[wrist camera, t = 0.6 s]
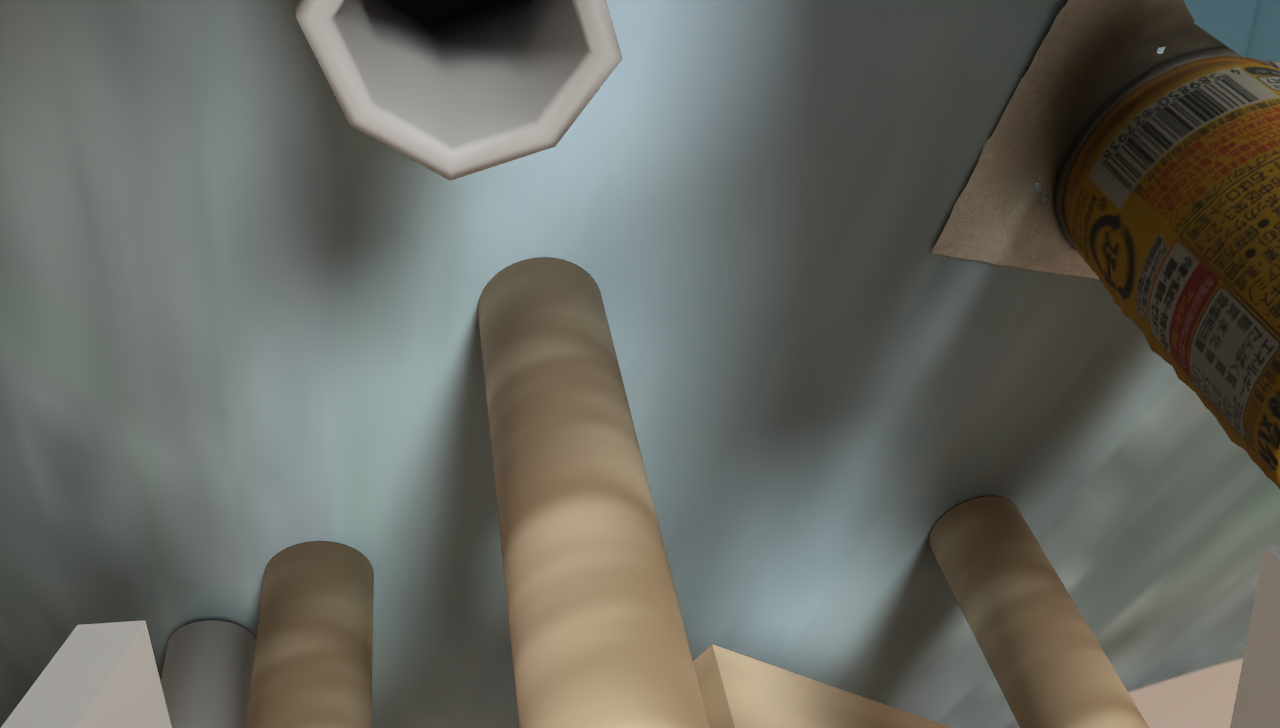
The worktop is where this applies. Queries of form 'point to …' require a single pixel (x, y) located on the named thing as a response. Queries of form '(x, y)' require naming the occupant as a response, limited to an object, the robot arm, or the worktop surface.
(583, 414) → the stool
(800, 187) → the worktop surface
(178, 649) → the pale green flat panel
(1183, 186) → the condiment
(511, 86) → the flask
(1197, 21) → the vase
